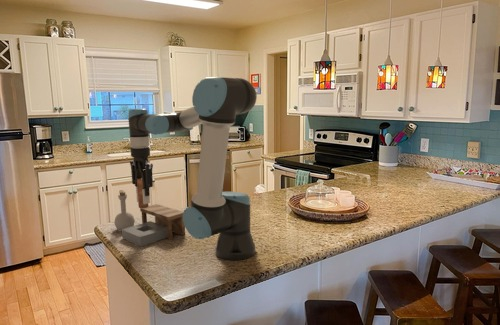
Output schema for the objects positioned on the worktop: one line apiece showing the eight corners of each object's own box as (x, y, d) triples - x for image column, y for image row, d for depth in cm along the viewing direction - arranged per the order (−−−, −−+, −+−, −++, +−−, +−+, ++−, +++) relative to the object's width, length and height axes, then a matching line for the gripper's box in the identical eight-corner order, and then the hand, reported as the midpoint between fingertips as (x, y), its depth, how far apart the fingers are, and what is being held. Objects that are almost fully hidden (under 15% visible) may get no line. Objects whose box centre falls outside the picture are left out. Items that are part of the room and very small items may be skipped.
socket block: (169, 236, 156) (169, 227, 156) (140, 246, 146) (140, 237, 145) (150, 229, 165) (150, 221, 165) (122, 238, 155) (121, 229, 154)
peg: (150, 206, 154) (148, 178, 152) (142, 208, 151) (140, 180, 149) (145, 204, 156) (143, 177, 154) (136, 206, 154) (135, 179, 151)
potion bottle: (128, 224, 173) (125, 187, 170) (138, 228, 167) (136, 190, 164) (110, 229, 166) (107, 191, 163) (121, 233, 161) (118, 194, 158)
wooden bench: (186, 234, 158) (184, 212, 157) (169, 240, 152) (168, 217, 151) (157, 224, 172) (156, 203, 171) (141, 229, 166) (140, 208, 164)
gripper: (160, 147, 147) (163, 204, 151) (136, 144, 158) (140, 197, 162) (143, 149, 141) (147, 208, 145) (120, 146, 152) (124, 200, 156)
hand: (143, 202), depth 153 cm, fingers closed on peg, 4 cm apart
